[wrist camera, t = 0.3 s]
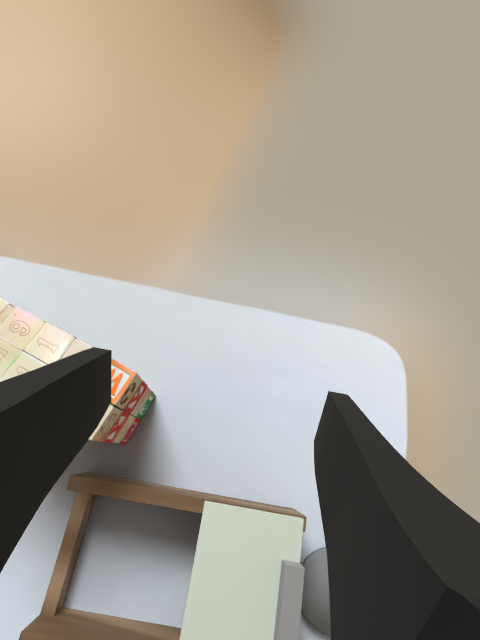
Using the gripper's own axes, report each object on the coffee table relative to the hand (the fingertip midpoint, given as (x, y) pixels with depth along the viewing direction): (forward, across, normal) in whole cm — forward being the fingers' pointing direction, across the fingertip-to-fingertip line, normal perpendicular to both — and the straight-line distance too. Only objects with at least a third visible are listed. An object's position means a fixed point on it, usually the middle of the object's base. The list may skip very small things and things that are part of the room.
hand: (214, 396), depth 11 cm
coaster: (+14, -13, +30) cm, 35 cm away
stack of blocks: (+23, +20, +18) cm, 36 cm away
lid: (+9, -4, +26) cm, 28 cm away
